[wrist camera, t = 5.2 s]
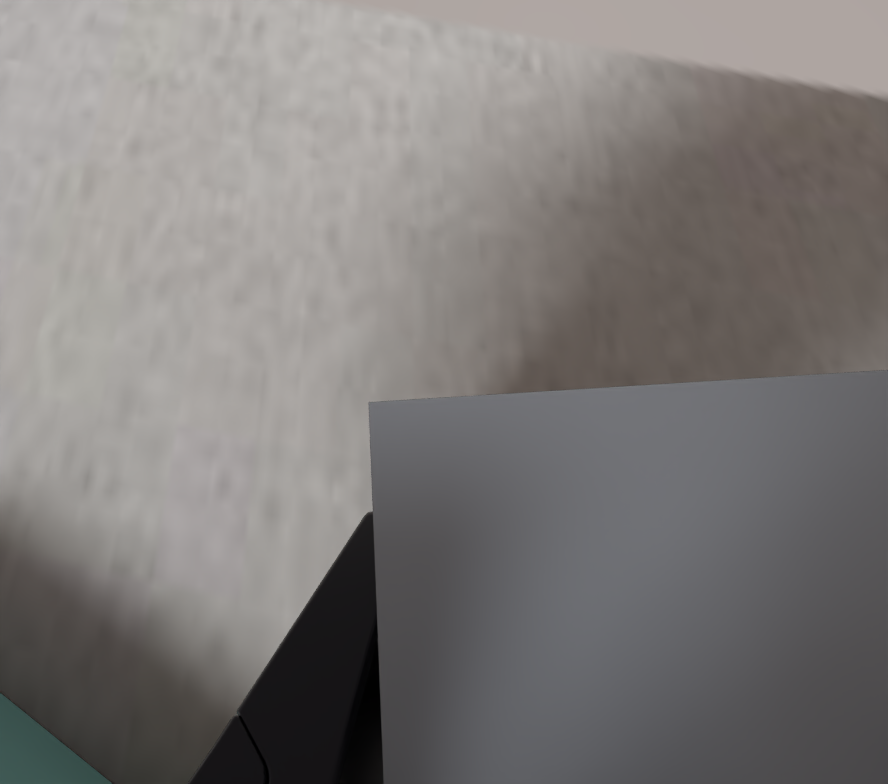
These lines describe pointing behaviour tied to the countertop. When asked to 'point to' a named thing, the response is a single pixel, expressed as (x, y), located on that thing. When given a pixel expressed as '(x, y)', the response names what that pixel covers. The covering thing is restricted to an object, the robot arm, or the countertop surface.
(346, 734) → the robot arm
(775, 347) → the countertop surface
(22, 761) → the tray
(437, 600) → the gray rectangular block
